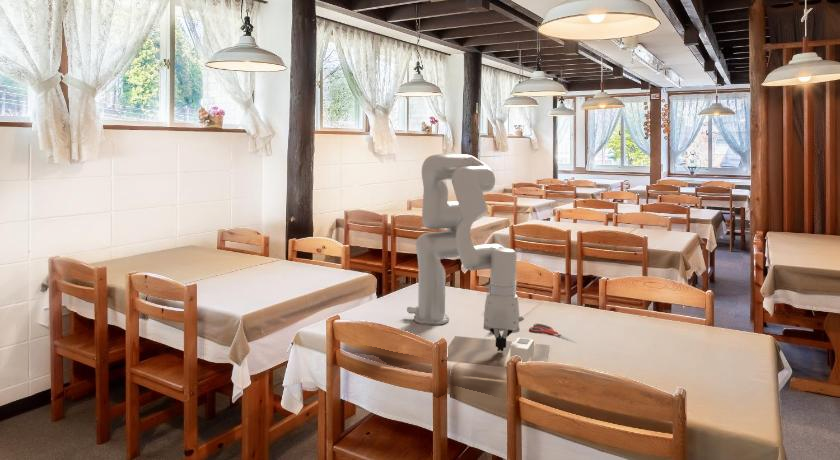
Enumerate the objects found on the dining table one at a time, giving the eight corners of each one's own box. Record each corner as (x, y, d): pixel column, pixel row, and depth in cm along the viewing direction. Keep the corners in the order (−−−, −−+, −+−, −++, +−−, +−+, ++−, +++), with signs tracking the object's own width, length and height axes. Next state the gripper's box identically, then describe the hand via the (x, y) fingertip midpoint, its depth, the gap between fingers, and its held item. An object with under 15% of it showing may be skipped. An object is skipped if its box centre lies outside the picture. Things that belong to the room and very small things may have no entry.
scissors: (580, 346, 184) (580, 342, 184) (524, 331, 199) (524, 327, 199) (592, 341, 190) (592, 336, 190) (537, 326, 204) (537, 322, 204)
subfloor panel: (439, 361, 170) (439, 359, 170) (455, 337, 191) (455, 336, 191) (545, 372, 162) (545, 371, 162) (549, 346, 183) (549, 345, 183)
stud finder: (510, 359, 170) (510, 346, 169) (517, 349, 178) (517, 336, 178) (527, 362, 168) (527, 348, 167) (533, 352, 176) (534, 339, 176)
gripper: (475, 291, 171) (474, 351, 174) (527, 295, 168) (524, 356, 170) (479, 285, 178) (478, 343, 181) (529, 288, 175) (526, 347, 177)
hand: (500, 349), depth 176 cm, fingers closed
